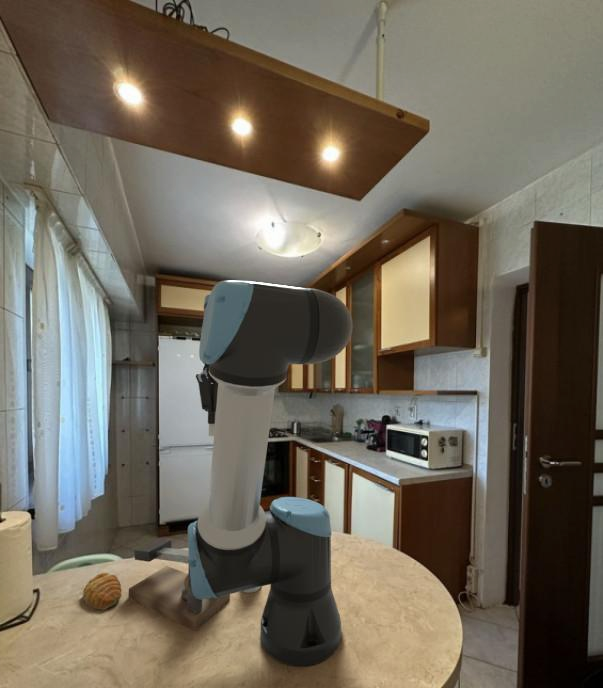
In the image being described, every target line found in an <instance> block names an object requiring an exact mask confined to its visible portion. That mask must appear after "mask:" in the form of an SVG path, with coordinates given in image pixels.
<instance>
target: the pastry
mask: <svg viewBox="0 0 603 688" xmlns="http://www.w3.org/2000/svg"><path fill="white" fill-rule="evenodd" d="M82 598H83V601H84V602H85V604H87V605H88V606H90V607H91V608H93V609H96V610H102V611H104V610H107V609H108V608H110V607H112V606H115V605H116V604H117V603H119V601H120V599H121V598H122V584H121V582H120V580H119V579H118V576H117V575H115V574H110V573H109V572H101V573H98V574H97V575H95V576H94V577H93V578H91V579H90V580H89V581H88V582H87V583H86V585H85V587H84V589H83V595H82Z"/></svg>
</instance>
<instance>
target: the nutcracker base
mask: <svg viewBox="0 0 603 688" xmlns="http://www.w3.org/2000/svg"><path fill="white" fill-rule="evenodd" d="M189 561H190V560H189ZM187 570H188V571H187V572H188V573H187V572H184V571H182V570H179V569H176V568H173V567H171V566H168V565H166V566H164V567H162V568H160V569H159V570H157V571H156V572H154V573H152V574H151V575H149V576H147V577H145V578H144V579H142V580H141V581H139V582H137V583H136V584H134V585H132V586H131V587H129V588H128V595H127V597H128V598H127V599H129V598H130V599H129V600H131V599H132V600H131V601H133V600H134V601H133V602H135V601H136V602H135V603H137V602H138V603H137V604H139V603H140V604H139V605H141V604H142V605H141V606H143V605H144V606H143V607H145V606H146V607H145V608H147V607H148V608H147V609H149V610H151V611H153V610H154V612H155V613H158V614H160V615H162V616H164V617H166V618H168V619H170V620H172V621H174V622H177V623H178V624H181V625H182V626H185V627H187V628H188V629H190V630H193V631H196V630H197V629H199V628H200V627H201V626H202V625H203V624H205V622H207V621H208V620H209V619H210V618H211V617H212V616H213V615H214V614H216V612H218V611H219V610H220V609H221V608H223V606H225V605H226V604H227V603H228V602H230V600H231V594H229V595H224V596H220V598H208V599H202V600H200V599H197V598H196V597H195V596H194V595H193V592H192V587H191V578H190V563H188V569H187Z"/></svg>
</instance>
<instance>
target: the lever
mask: <svg viewBox="0 0 603 688" xmlns="http://www.w3.org/2000/svg"><path fill="white" fill-rule="evenodd" d="M134 560H135V561H143V562H147V563H150V562H152V561H153V560H163V561H170V562H175V563H182V564H189V551H188V549H181V548H172V539H171V540H169V539H161V538H155V540H153V541H151V542H148V543H145V544H144V545H142V546H140V547H138V548H136V549H135V550H134Z"/></svg>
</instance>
